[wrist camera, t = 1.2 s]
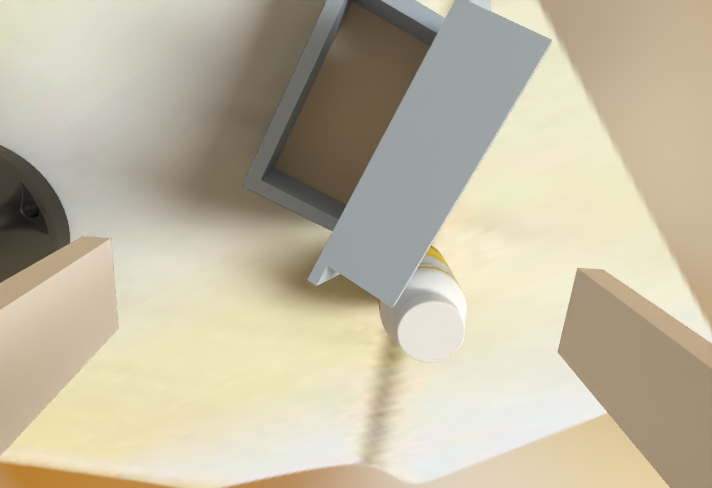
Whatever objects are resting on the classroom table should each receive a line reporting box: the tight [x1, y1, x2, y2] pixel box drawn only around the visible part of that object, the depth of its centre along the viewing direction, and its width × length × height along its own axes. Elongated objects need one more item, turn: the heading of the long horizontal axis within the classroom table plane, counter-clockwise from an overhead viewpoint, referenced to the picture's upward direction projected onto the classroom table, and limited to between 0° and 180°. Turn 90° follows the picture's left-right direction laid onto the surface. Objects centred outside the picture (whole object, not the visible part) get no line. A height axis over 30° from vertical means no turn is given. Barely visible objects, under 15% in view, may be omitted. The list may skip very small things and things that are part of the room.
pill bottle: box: [378, 246, 467, 362], centre depth 38 cm, size 6×6×12 cm
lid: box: [307, 0, 552, 308], centre depth 27 cm, size 10×17×5 cm
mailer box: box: [242, 0, 445, 231], centre depth 35 cm, size 10×16×7 cm, turn 152°
